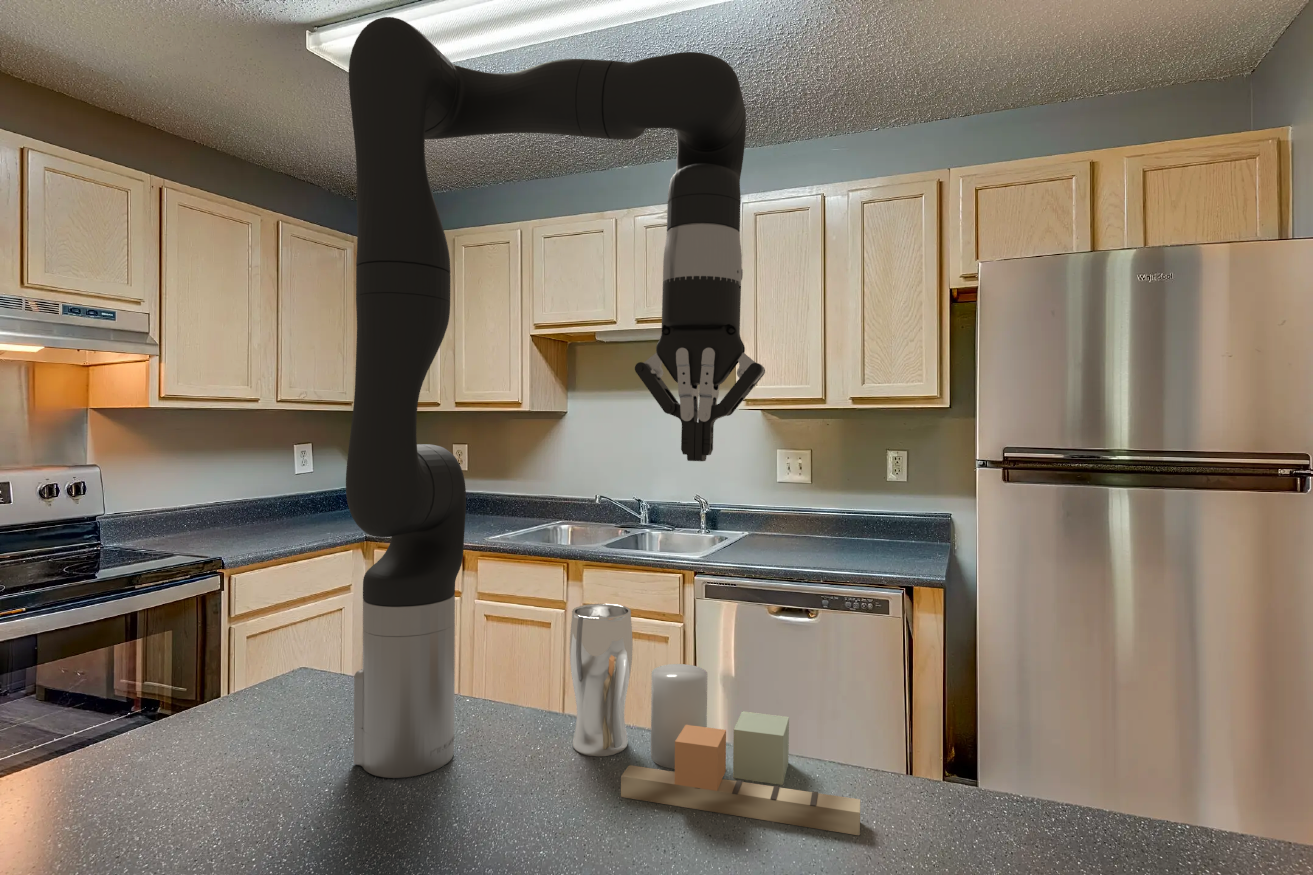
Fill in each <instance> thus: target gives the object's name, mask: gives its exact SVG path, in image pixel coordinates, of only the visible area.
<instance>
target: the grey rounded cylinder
mask: <svg viewBox="0 0 1313 875" xmlns="http://www.w3.org/2000/svg"><path fill="white" fill-rule="evenodd" d="M650 686H651V689H650V690H651V692H650V693H651V696H650V700H651V701H650V702H651V704H650V705H651V707H650V709H651V710H650V712H651V713H650V759H651V760H652V762H653V763H655V764H657V765H658V766H660V767H662V768H667V769H674V770H675V741H676V739H677V737H678V736H679V734H680V733H681V731H682V730H683V728H684V727H685V725H692V726H700V727H708V672H707V671H706V669H704V668H702V667H700V666H696V665H693V664H686V663H685V664H683V663H672V664H671V663H670V664H664V665H663V664H662V665H659V666H656V667H655V668H653V669H652V671H651V683H650Z"/></svg>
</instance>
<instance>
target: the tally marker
mask: <svg viewBox="0 0 1313 875" xmlns="http://www.w3.org/2000/svg"><path fill="white" fill-rule="evenodd" d="M726 760H727V729H721V728H714V727H708V726H707V727H700V726H692V725H685V727H684V728H683V730H682V731H681V733H680V734H679V736H678V737H677V739H676V741H675V769H674V772H675V785H682V786H688V787H695V788H701V789H708V790H714V791H717V790H718V788H719V785H720V783H721V781H722V779H724V778H723V777H724V776H725V774H726V771H727V769H726V767H727V763H726Z"/></svg>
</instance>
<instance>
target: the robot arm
mask: <svg viewBox="0 0 1313 875" xmlns="http://www.w3.org/2000/svg"><path fill="white" fill-rule="evenodd" d="M348 88H349V90H348V92H349V101H350V102H349V103H350V111H351V121H352V129H353V137H354V138H353V139H354V150H355V151H354V152H355V161H356V162H355V165H356V166H355V167H356V214H357V215H356V222H357V223H356V224H357V225H356V226H357V227H356V228H357V229H356V230H357V233H356V235H357V236H356V237H357V240H356V241H357V242H356V243H357V244H356V261H355V267H356V269H355V271H356V273H355V306H356V345H355V346H356V347H355V348H356V350H355V353H356V354H355V373H354V374H355V376H354V377H355V378H354V379H355V380H354V396H353V397H354V398H353V400H354V401H353V407H352V408H353V409H352V417H351V426H350V434H349V442H348V444H349V445H348V452H347V459H346V460H347V461H346V468H345V469H346V473H345V494H346V502H347V506H348V507H347V508H348V509H349V513H350V515H351V517H352V519H353V520H354V522H355V524H356V525H357V527H359V528H360V530H362V531H363V532H364V533H366V534H368V535H369V536H373V537H375V538H387V537H388V538H389V537H390V543H389V545H388V547H387V549H386V550H385V552H384V554H383V555H382V556H381V558H380V559H378V561H377V562H375V563H374V564H373V565H372V566H371V567H370V568H368V569H367V571H366V572H365V573H364V576H363V579H362V580H363V581H362V668H361V669H359V670H357V671H356V672H355V673H354V676H353V764H354V765H357V766H361V767H362V768H363V770H364V771H365V772H366V773H369V774H371V775H373V776H375V777H381V778H390V779H391V778H393V779H396V778H409V777H415V776H421V775H425V774H428V773H431V772H433V771H435V770H438V769H440V768H441V767H444V766H445V765H447V764H448V763H449V762H450V761H451V760H452V759H453V756H454V754H455V751H454V750H455V673H456V672H455V666H456V664H455V662H456V661H455V660H456V659H455V658H456V656H455V655H456V654H455V653H456V652H455V650H456V649H455V648H456V645H455V642H456V637H455V636H456V620H455V619H456V610H455V609H456V595H455V594H456V590H455V589H456V581H457V580H456V579H457V576H458V575H459V572H460V569H461V566H462V565H463V564H462V563H463V558H464V550H465V549H464V546H465V530H466V509H467V508H466V507H467V506H466V505H467V491H466V490H467V488H466V481H465V475H464V473H463V469H462V467H461V464H460V462H459V461H458V459H457V458H456V456H455V455H454V454H453V453H452V452H450V451H449V450H448V449H446V448H445V447H443V446H440V445H435V444H429V443H428V444H426V443H425V444H421V443H419V444H418V443H417V442H418V439H417V437H418V436H417V423H418V422H417V417H418V406H419V398H420V393H421V390H422V387H423V384H424V381H425V378H426V376H427V373H428V371H429V369H430V368H431V365H432V364H433V361H434V359H435V357H436V355H437V353H438V351H439V349H440V347H441V345H442V342H443V340H444V338H445V334H446V332H447V328H448V325H449V322H450V316H451V315H450V314H451V272H452V271H451V260H450V252H449V246H448V245H449V244H448V241H447V237H446V233H445V231H444V227H443V224H442V219H441V218H440V213H439V210H438V207H437V204H436V201H435V198H434V194H433V191H432V188H431V184H430V180H429V176H428V170H427V163H426V152H425V143H426V142H425V141H426V140H443V139H452V138H453V139H454V138H463V137H469V136H470V137H471V136H481V135H501V134H548V135H560V136H561V135H562V136H563V135H564V136H573V137H574V136H575V137H576V136H577V137H583V138H595V139H606V140H619V141H620V140H623V141H624V140H625V141H627V140H635V139H637V138H639V137H640V136H641V135H642V134H644V132H645V131H646V129H671V130H675V132H676V145H677V146H676V151H677V152H676V168H675V173H674V174H673V175H672V176H671V178H670V181H669V184H668V185H669V186H668V190H667V191H668V192H667V203H666V204H667V205H666V206H667V207H666V208H667V209H666V210H667V211H666V239H665V245H664V248H663V249H664V250H663V261H662V262H663V263H662V266H663V267H662V296H661V298H662V299H661V303H662V304H661V306H662V307H661V335H660V337H659V340H658V342H657V343H656V346H655V353H654V354H652V355H651V356H650V357H649V358H647V360H645V361H644V362H643V361H640V362H637V363H636V364H635V367H634V371H635V373H636V375H637V376H638V377H639V379H640V380H641V381H642V383H643V384H644V385H645V387H646V388H647V390H648V391H649V392H650V394H651V395H652V397H653V398H654V399H655V401H656V403H657V404H658V406H660V409H662V411H663V412H664V413H665V414H667V415H671V416H673V417H676V418H677V419H679V420H680V422H681V433H680V434H681V437H680V439H681V440H680V442H681V444H680V445H681V446H680V449H681V452H682V455H686V459H687V460H686V461H687V462H706V461H707V456H710V455H712V453H713V450H714V425H715V422H716V421H717V420H718V419H721V418H724V417H728V416H732V414H733V413H734V412H735V411H736V410H737V409H738V407H739V406H740V404H742V402H743V401H744V400H745V399H746V397H748V395H749V394H750V392H751V391H752V390H753V388H755V386H756V385H757V383H759V382H760V380H761V379H762V378H763V377H764V375H765V373H766V368H765V367H764V366H763V364H761V363H758V362H757V361H755V360H753V359H752V358H751V357H750V356H748V355H747V354H746V353H745V349H746V347H745V345H744V343H743V340H742V337H741V332H740V331H741V299H742V298H741V296H742V280H743V273H744V272H743V271H744V270H743V268H742V264H743V259H742V258H743V257H742V256H743V254H742V246H741V233H740V232H741V230H740V229H741V205H742V204H741V203H742V201H741V199H742V198H741V197H742V196H741V177H742V176H741V175H742V169H743V161H744V154H745V146H746V135H747V134H746V132H747V113H746V107H745V106H746V105H745V102H744V99H743V95H742V94H743V93H742V89H741V84H740V81H739V78H738V76H737V73H736V72H735V70H734V69H733V67H732V66H731V65H730V64H729V63H728V62H726V61H725V60H723V59H722V58H720V57H718V56H716V55H712V54H709V53H704V52H697V51H685V52H676V53H669V54H664V55H659V56H653V57H646V58H643V59H639V60H636V61H631V62H630V61H629V62H627V61H619V60H606V59H591V58H563V59H562V58H561V59H555V60H551V61H546V62H543V63H539V64H537V65H533V66H531V67H528V68H526V69H525V68H524V69H522V70H518V71H513V72H512V71H511V72H504V73H503V72H502V73H500V72H486V71H481V70H476V69H472V68H468V67H464V66H461V65H457V64H454V63H452V61H451V60H450V59H449V58H448V57H447V56H446V55H445V54H444V53H443V52H442V51H441V50H440V49H439V48H438V47H437V46H436V45H435V44H434V43H433V42H432V41H431V40H430V39H429V38H428V36H426V35H425V34H423V33H422V32H421V31H420V30H419V29H418V28H416V27H414V26H413V25H411V24H410V23H408V22H407V21H404V20H403V19H400V18H397V17H395V16H383V17H380V18H375V19H374V20H372V21H371V22H369V23H368V24H367V25H365V27H363V29H362V30H361V31H360V33H359V34H358V36H357V37H356V38H355V41H354V44H353V46H352V49H351V53H350V58H349V63H348ZM737 365H738V368H737V371H736V375H737V377H738V379H737V381H736V382H735V383H734V384H733V386H732V387H731V388H730V389H729V391H727V393H726V394H725V395H724V397H723V398H722V399H721V401H720V402H718V398H719V395H720V388H721V387H720V385H722V384H723V383H724V382H725V381H726V380H727V378H728V377H729V375H730V374H731V373H732V372H733V371H734V368H736V366H737ZM662 366H664V367H665V368H666V371H668V373H669V375H670V376H671V377H672V379H673V381H675V383H677V388H678V389H677V390H678V397H679V401H678V400H677V398H676V397H675V396H674V394H673V393H672V392H671V390H670V389H669V387H668V386H667V384H666V383H665V382H664V380H663V379H662V377H663V376H664V374H665V372H664V369H663V367H662Z"/></svg>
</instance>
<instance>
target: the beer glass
mask: <svg viewBox="0 0 1313 875" xmlns="http://www.w3.org/2000/svg"><path fill="white" fill-rule="evenodd" d="M570 621H571V623H570V632H569V664H570V665H569V666H570V672H571V680H572V686H573V693H574V696H575V698H574V699H575V704H576V722H575V729H574V733H573V738H572V747H573V748H574V751H576V752H577V753H579V754H580V755H584V756H587V757H588V756H589V757H598V758H599V757H610V756H613V755H617V754H619V753H621V752H623V751H624V750H625V749H626V748H628V744H629V742H628V734H627V728H626V721H625V720H626V719H625V707H626V699H627V694H628V693H627V692H628V688H629V682H630V677H631V672H632V662H633V644H634V643H633V642H634V641H633V627H632V626H633V623H632V610H631V608H629V606H625V605H622V604H617V603H615V604H614V603H590V604H589V603H587V604H583V605H579V606H577V607H574V608H573V609H572V610H571V620H570Z"/></svg>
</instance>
